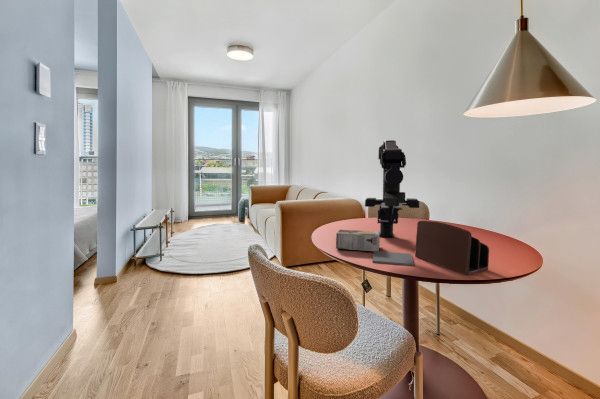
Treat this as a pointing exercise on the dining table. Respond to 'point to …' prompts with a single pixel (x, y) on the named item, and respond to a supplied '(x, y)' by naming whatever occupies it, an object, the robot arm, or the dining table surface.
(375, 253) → the mat
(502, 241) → the dining table surface
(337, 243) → the coffee box
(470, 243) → the letter holder
